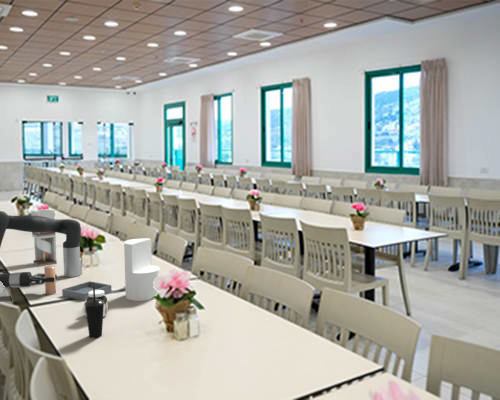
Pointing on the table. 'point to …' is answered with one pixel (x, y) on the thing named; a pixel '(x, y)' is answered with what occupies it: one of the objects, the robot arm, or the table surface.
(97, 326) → the drinking cup
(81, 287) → the shallow square tray
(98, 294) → the spread jar
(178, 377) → the table surface
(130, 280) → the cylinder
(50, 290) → the pillar candle
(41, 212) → the display case
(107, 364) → the table surface
